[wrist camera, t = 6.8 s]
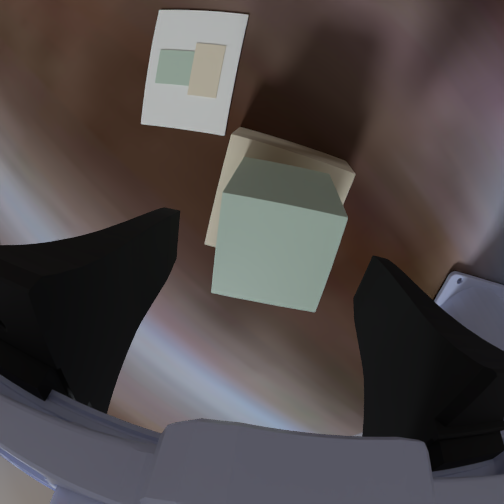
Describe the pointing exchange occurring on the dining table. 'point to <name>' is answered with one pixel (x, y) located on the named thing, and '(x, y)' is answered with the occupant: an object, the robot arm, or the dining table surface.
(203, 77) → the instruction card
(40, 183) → the dining table surface
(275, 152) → the maple base
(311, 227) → the sage block
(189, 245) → the dining table surface
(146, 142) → the dining table surface
